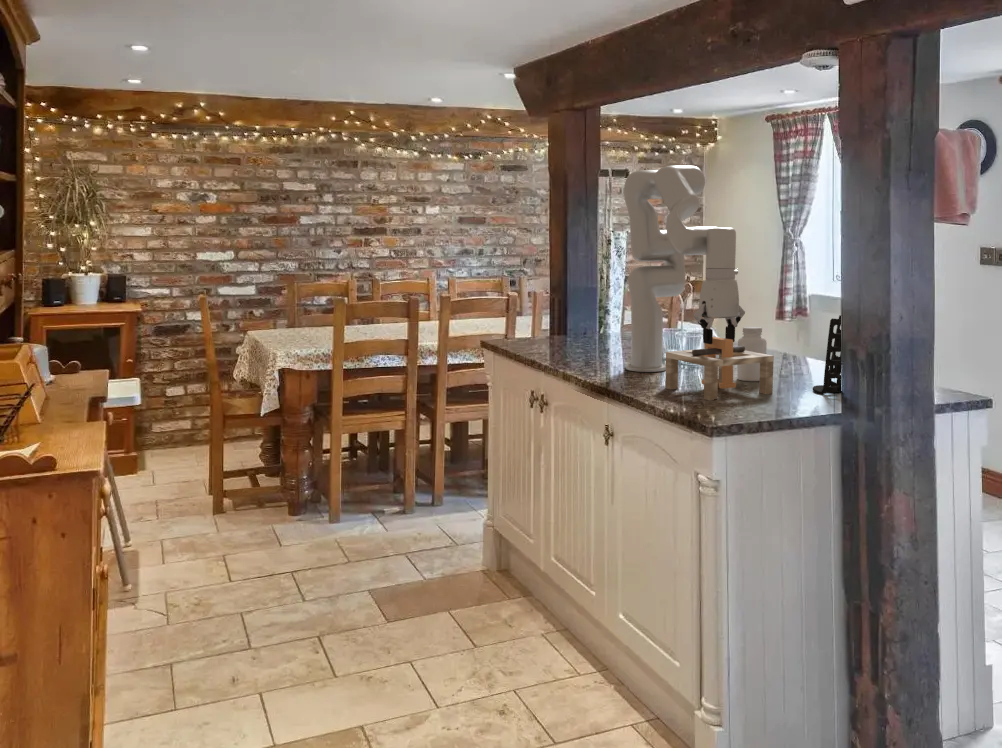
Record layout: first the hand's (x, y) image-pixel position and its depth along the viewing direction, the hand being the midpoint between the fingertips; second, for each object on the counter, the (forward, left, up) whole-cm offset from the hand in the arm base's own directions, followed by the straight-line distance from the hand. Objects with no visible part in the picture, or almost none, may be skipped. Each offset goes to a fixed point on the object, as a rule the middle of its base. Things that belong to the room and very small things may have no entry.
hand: (718, 342), depth 248 cm
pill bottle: (-10, +19, -13) cm, 25 cm away
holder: (+15, +25, -13) cm, 32 cm away
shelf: (0, 0, -13) cm, 13 cm away
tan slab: (0, 0, -12) cm, 12 cm away
